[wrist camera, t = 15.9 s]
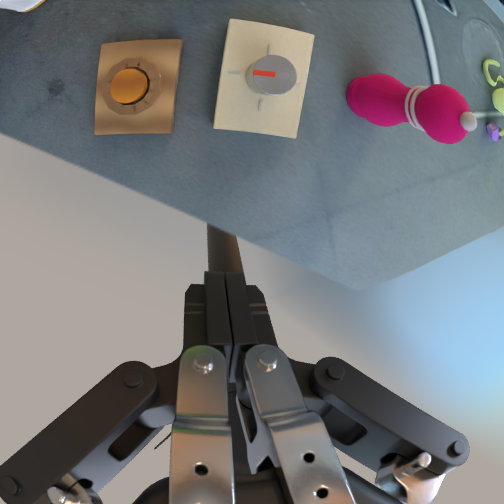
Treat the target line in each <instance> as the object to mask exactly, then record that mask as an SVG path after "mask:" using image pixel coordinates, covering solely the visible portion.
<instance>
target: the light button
mask: <svg viewBox="0 0 504 504" xmlns="http://www.w3.org/2000/svg"><path fill="white" fill-rule="evenodd" d="M147 87H148V81H147V77H146V76H145V74H144V73H143V72H141V71H139V70H136V69H124V70H122V71H120V72H119V73H117V74H116V75H115V76H114V78H113V79H112V81H111V84H110V92H111V95H112V97H113V98H114V99H115V100H116V101H117V102H120V103H130V102H135V101H137V100H139V99H140V98H141V97H142V96H143V95H144V94H145V92H146V90H147Z"/></svg>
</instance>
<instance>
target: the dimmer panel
mask: <svg viewBox="0 0 504 504" xmlns="http://www.w3.org/2000/svg"><path fill="white" fill-rule="evenodd" d="M313 41H314V35H312V34H309V33H305V32H301V31H297V30H293V29H289V28H284V27H280V26H275V25H270V24H264V23H258V22H252V21H245V20H238V19H230V21H229V24H228V29H227V34H226V40H225V46H224V52H223V58H222V64H221V71H220V77H219V84H218V91H217V98H216V106H215V114H214V122H213V127H214V129H225V130H236V131H245V132H254V133H262V134H269V135H276V136H283V137H289V138H296V136H297V130H298V125H299V120H300V114H301V109H302V104H303V98H304V93H305V87H306V82H307V76H308V70H309V65H310V59H311V53H312V47H313ZM268 55H280V56H283V57H285V58H287V59H288V60H290V61H291V62H292V64H293V65H294V67H295V69H296V72H297V79H296V83H295V85H294V86H293V88H292V89H291V90H290V91H288V92H287V93H285V94H282V95H263V94H259V93H256V92H254V91H253V90H252V89H251V88H250V87H249V86H248V84H247V81H246V73H247V70H248V68H249V67H250V66H251V65H252V64H253V63H254V62H256V61H258V60H259V59H261V58H263V57H265V56H268Z"/></svg>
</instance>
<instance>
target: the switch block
mask: <svg viewBox="0 0 504 504" xmlns="http://www.w3.org/2000/svg"><path fill="white" fill-rule="evenodd" d="M183 44H184V42H183V40H182V39H152V40H135V41H123V42H114V43H106V44H102V45H101V52H100V59H99V67H98V76H97V88H96V102H95V135H107V134H139V133H159V134H171V133H172V131H173V124H174V113H175V103H176V94H177V85H178V77H179V70H180V63H181V56H182V50H183ZM124 69H136V70H139V71H141V72H143V73H144V74H145V76H146V77H147V81H148V87H147V90H146V92H145V94H144V95H143V96H142V97H141V98H140V99H139V100H137V101H135V102H130V103H120V102H117V101H116V100H115V99H114V98H113V97H112V95H111V92H110V84H111V81H112V79H113V78H114V76H115V75H116V74H117V73H119V72H120V71H122V70H124Z"/></svg>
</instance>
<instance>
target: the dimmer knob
mask: <svg viewBox="0 0 504 504" xmlns="http://www.w3.org/2000/svg"><path fill="white" fill-rule="evenodd" d="M296 79H297V72H296V69H295V67H294V65H293V64H292V62H291V61H290V60H288V59H287V58H285V57H283V56H280V55H268V56H265V57H263V58H261V59H259V60H258V61H256V62H254V63H253V64H252V65H251V66H250V67H249V68H248V70H247V73H246V81H247V84H248V86H249V87H250V88H251V89H252V90H253V91H254V92H256V93H259V94H263V95H282V94H285V93H287V92H288V91H290V90H291V89H292V88H293V86H294V85H295V83H296Z"/></svg>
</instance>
